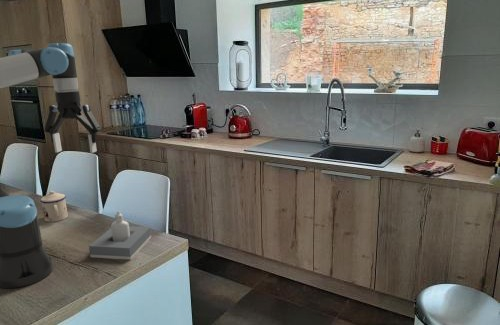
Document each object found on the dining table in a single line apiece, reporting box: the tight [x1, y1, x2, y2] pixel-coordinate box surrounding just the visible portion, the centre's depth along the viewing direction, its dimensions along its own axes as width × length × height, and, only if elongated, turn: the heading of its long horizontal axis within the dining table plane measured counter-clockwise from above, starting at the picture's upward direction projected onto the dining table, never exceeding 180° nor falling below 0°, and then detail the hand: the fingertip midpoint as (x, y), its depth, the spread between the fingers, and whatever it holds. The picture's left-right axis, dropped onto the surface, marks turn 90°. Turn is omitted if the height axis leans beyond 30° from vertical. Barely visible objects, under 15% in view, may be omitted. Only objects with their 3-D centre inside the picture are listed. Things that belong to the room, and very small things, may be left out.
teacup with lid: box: [40, 190, 69, 223], centre depth 155 cm, size 12×9×12 cm
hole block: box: [88, 225, 152, 261], centre depth 130 cm, size 16×14×4 cm
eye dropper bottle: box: [110, 210, 130, 242], centre depth 129 cm, size 4×6×12 cm
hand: (76, 151), depth 136 cm, fingers open, 13 cm apart
